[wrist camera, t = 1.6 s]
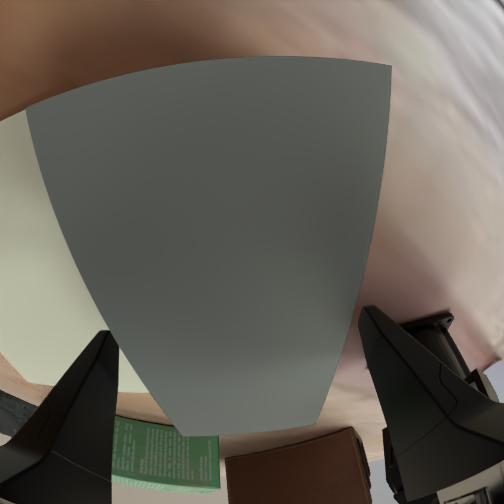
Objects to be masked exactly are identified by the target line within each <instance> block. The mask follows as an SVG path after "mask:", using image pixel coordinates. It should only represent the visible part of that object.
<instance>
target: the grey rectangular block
mask: <svg viewBox="0 0 504 504" xmlns="http://www.w3.org/2000/svg"><path fill="white" fill-rule="evenodd" d="M391 74H392V66H391V65H385V64H378V63H372V62H364V61H356V60H347V59H336V58H322V57H301V56H259V57H238V58H225V59H214V60H204V61H196V62H188V63H181V64H175V65H169V66H163V67H158V68H152V69H147V70H142V71H138V72H133V73H129V74H125V75H121V76H117V77H113V78H109V79H105V80H102V81H98V82H95V83H91V84H88V85H85V86H82V87H79V88H76V89H73V90H70V91H67V92H64V93H61V94H58V95H56V96H53V97H50V98H48V99H45V100H42V101H40V102H38V103H35V104H33V105H30V106H28V107H26V108H25V111H26V116H27V120H28V125H29V129H30V134H31V138H32V142H33V146H34V150H35V153H36V157H37V161H38V164H39V168H40V171H41V174H42V178H43V181H44V184H45V187H46V190H47V193H48V196H49V199H50V202H51V205H52V207H53V210H54V213H55V216H56V218H57V221H58V224H59V226H60V229H61V231H62V234H63V236H64V239H65V241H66V243H67V246H68V248H69V250H70V253H71V255H72V257H73V260H74V262H75V264H76V266H77V268H78V270H79V273H80V275H81V277H82V279H83V281H84V283H85V285H86V287H87V289H88V291H89V293H90V295H91V297H92V299H93V301H94V303H95V305H96V307H97V308H98V310H99V312H100V314H101V316H102V318H103V319H104V321H105V323H106V325H107V327H108V328H109V330H110V332H111V334H112V335H113V337H114V339H115V340H116V342H117V344H118V345H119V347H120V349H121V350H122V352H123V354H124V355H125V357H126V358H127V360H128V361H129V363H130V365H131V366H132V368H133V369H134V371H135V372H136V374H137V375H138V377H139V378H140V380H141V381H142V383H143V384H144V385H145V387H146V388H147V390H148V391H149V393H150V394H151V395H152V397H153V398H154V400H155V401H156V402H157V404H158V405H159V406H160V408H161V409H162V410H163V412H164V413H165V414H166V416H167V417H168V418H169V420H170V421H171V422H172V423H173V425H174V426H175V427H176V428H177V430H178V431H179V432H180V433H181V435H182V436H219V435H235V434H247V433H258V432H267V431H275V430H282V429H289V428H296V427H302V426H308V425H313V424H316V422H317V420H318V417H319V415H320V412H321V410H322V407H323V404H324V402H325V399H326V396H327V394H328V391H329V388H330V385H331V383H332V380H333V377H334V374H335V371H336V368H337V365H338V362H339V359H340V356H341V353H342V350H343V347H344V343H345V340H346V337H347V334H348V330H349V327H350V323H351V320H352V316H353V313H354V309H355V306H356V302H357V298H358V294H359V290H360V286H361V282H362V278H363V274H364V270H365V266H366V261H367V257H368V252H369V248H370V243H371V238H372V233H373V228H374V223H375V217H376V212H377V206H378V200H379V194H380V188H381V181H382V174H383V167H384V160H385V151H386V143H387V133H388V122H389V110H390V95H391Z"/></svg>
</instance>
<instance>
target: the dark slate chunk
mask: <svg viewBox="0 0 504 504" xmlns="http://www.w3.org/2000/svg"><path fill="white" fill-rule="evenodd" d="M37 408H38V406H35V405H33V404H30V403H28V402H26V401H24V400H21V399H19V398H17V397H15V396H12V395H10V394H8V393H5V392H4V391H2V390H0V433H2V434H5V435H8V436H11V437H13V436H14V435H15V434H16V433H17V432H18V430H19V429H20V428H21V427H22V426H23V425H24V424H25V423H26V421H27V420H28V419H29V418H30V417H31V416H32V414H33V413H34V412H35V411H36V409H37Z"/></svg>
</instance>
